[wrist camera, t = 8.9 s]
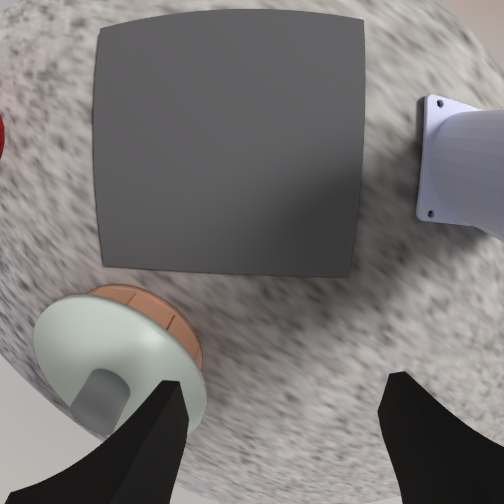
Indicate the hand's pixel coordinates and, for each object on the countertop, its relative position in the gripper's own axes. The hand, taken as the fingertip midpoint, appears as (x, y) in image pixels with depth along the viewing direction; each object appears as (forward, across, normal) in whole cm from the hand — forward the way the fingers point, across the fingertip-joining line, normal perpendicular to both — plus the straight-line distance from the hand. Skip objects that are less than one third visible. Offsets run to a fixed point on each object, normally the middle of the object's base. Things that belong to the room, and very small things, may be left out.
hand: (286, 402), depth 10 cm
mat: (+10, +3, -8) cm, 14 cm away
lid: (+7, +11, +6) cm, 14 cm away
